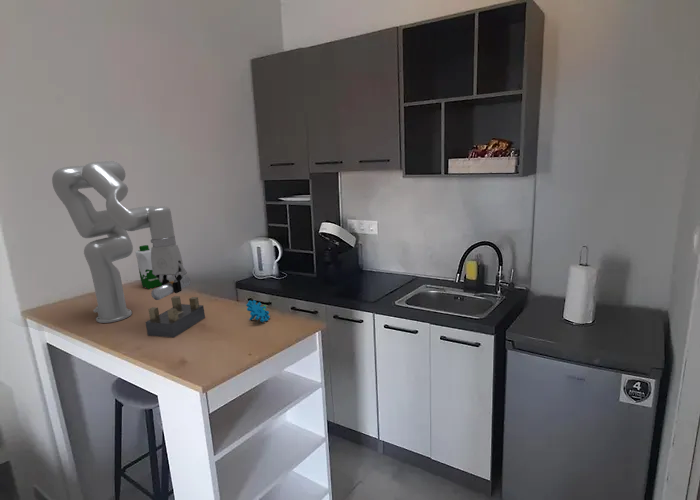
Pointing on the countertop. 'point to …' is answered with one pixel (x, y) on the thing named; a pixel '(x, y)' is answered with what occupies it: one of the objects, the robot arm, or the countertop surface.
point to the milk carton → (146, 268)
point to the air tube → (168, 288)
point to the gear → (257, 311)
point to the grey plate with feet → (174, 318)
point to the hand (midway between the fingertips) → (172, 291)
